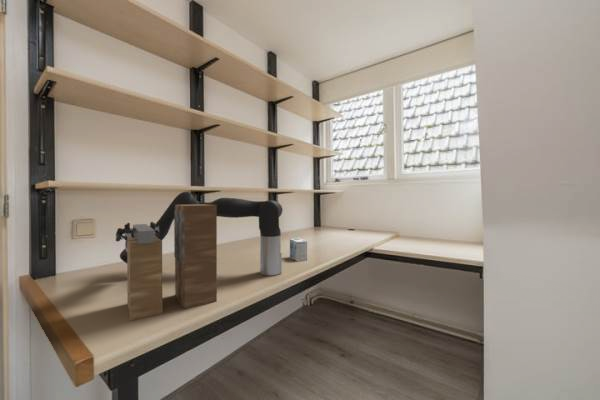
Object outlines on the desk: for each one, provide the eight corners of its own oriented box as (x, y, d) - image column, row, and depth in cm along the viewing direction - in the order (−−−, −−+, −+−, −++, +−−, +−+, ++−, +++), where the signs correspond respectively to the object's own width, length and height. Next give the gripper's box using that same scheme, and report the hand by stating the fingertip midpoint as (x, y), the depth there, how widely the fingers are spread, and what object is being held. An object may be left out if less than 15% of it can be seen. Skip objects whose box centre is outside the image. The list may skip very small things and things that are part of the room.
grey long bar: (132, 234, 90) (132, 224, 90) (146, 233, 93) (146, 224, 93) (138, 243, 73) (138, 231, 73) (154, 242, 75) (154, 230, 75)
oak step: (127, 303, 84) (127, 237, 83) (155, 298, 88) (155, 235, 88) (130, 320, 72) (130, 244, 72) (162, 312, 77) (162, 241, 77)
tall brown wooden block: (173, 295, 91) (173, 204, 91) (204, 289, 97) (204, 204, 97) (182, 309, 80) (182, 205, 79) (216, 301, 86) (216, 205, 86)
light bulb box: (289, 257, 150) (289, 238, 149) (299, 256, 152) (299, 237, 152) (296, 261, 140) (296, 241, 140) (307, 260, 142) (307, 240, 142)
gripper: (114, 235, 97) (114, 215, 85) (157, 232, 106) (163, 214, 94) (114, 254, 94) (115, 236, 82) (158, 249, 103) (165, 233, 91)
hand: (140, 224), depth 88 cm, fingers open, 6 cm apart
